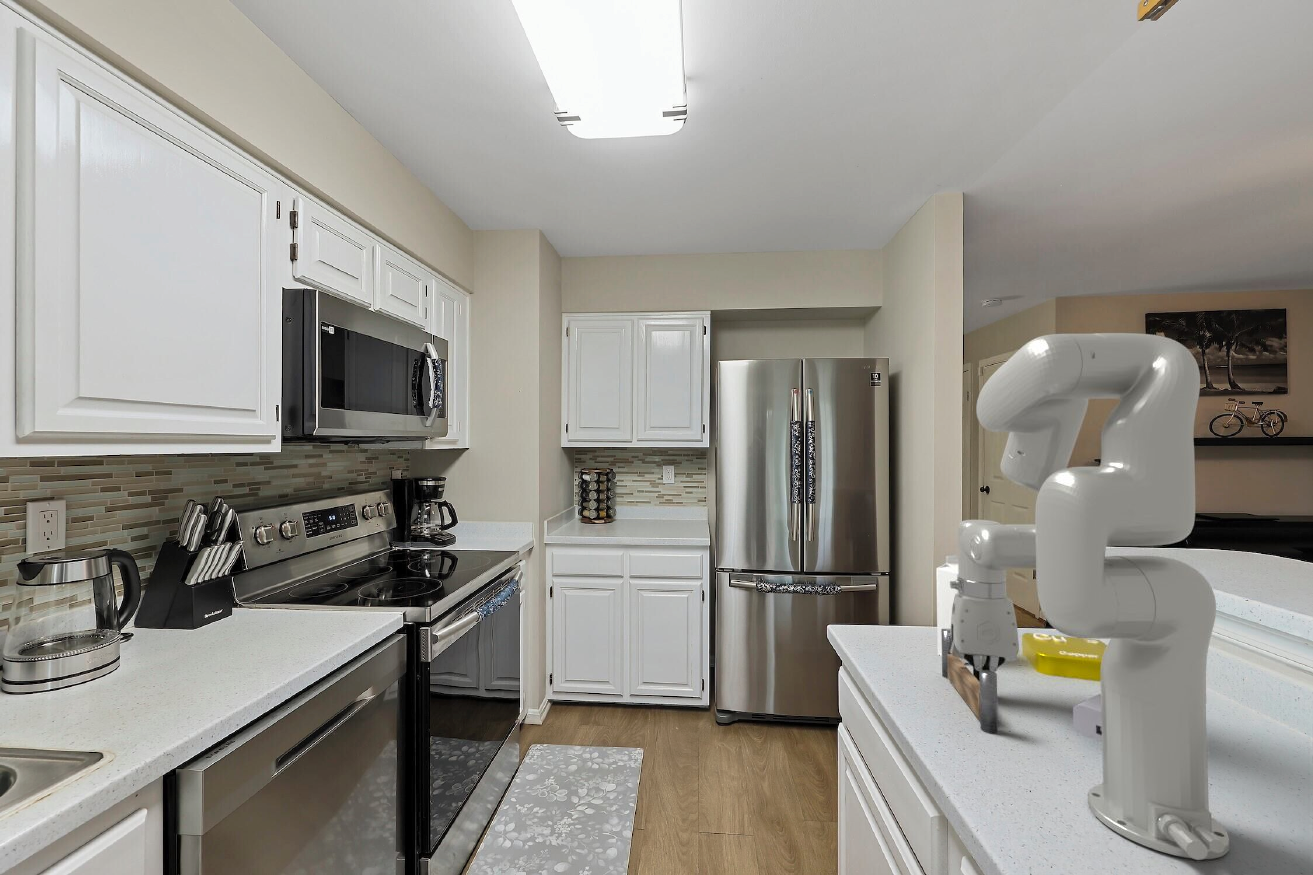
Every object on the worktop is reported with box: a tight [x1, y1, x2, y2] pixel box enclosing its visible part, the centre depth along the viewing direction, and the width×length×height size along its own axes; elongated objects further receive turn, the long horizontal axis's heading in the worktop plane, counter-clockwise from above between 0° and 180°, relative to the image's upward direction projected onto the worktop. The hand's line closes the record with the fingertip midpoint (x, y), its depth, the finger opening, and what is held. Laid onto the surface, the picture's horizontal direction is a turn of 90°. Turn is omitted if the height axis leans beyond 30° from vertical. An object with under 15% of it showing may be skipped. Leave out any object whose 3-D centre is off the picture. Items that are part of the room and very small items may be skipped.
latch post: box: [941, 629, 952, 679], centre depth 112 cm, size 2×2×9 cm
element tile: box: [1021, 632, 1108, 682], centre depth 117 cm, size 15×15×5 cm
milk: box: [935, 554, 983, 665], centre depth 122 cm, size 6×6×22 cm
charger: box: [1072, 693, 1102, 743], centre depth 90 cm, size 5×9×15 cm
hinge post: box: [979, 670, 999, 734], centre depth 91 cm, size 2×2×9 cm
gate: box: [947, 654, 980, 721], centre depth 101 cm, size 18×2×4 cm, turn 168°
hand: (983, 690), depth 103 cm, fingers closed
